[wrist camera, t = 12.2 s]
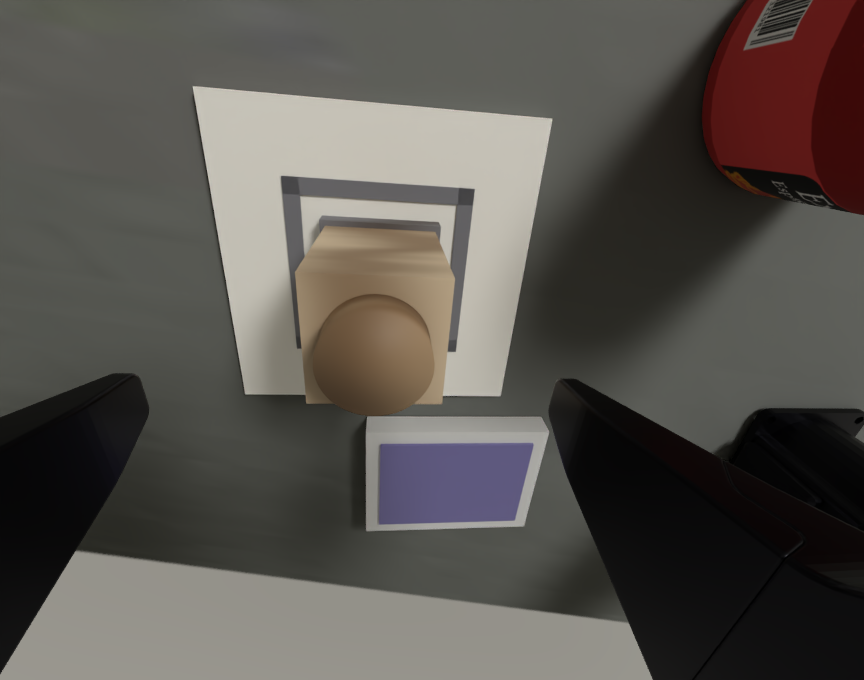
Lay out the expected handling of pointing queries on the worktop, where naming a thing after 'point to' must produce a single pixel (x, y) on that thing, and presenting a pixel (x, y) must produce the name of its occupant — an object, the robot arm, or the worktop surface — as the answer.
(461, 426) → the ink pad
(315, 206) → the print card
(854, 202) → the canned food
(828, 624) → the robot arm
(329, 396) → the stamp
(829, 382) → the worktop surface
